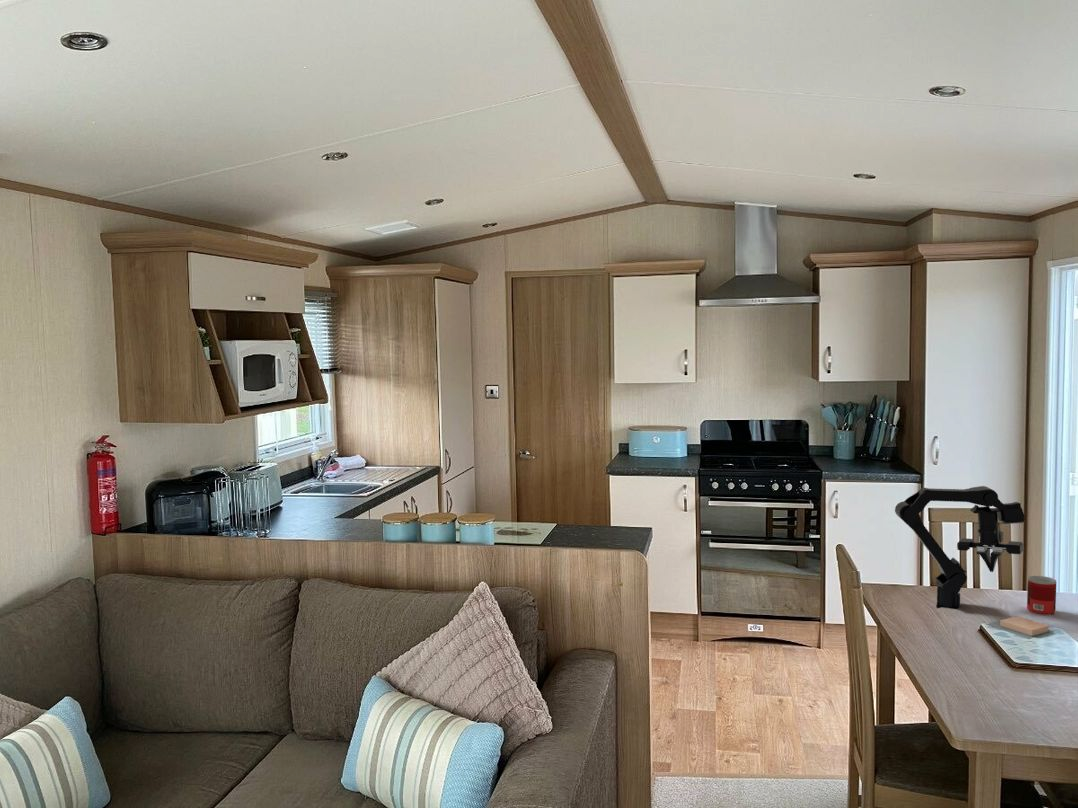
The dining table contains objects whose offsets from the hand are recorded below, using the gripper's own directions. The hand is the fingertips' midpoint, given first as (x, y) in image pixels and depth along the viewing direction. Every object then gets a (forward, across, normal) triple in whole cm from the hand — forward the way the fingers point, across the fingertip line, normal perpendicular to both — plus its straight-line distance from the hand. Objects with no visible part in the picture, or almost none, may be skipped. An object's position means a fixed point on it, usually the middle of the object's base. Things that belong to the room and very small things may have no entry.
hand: (991, 571), depth 277 cm
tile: (+11, -8, +16) cm, 20 cm away
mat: (+12, -11, +17) cm, 24 cm away
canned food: (+14, -12, -5) cm, 19 cm away
